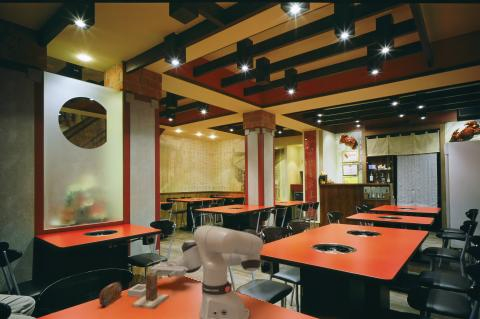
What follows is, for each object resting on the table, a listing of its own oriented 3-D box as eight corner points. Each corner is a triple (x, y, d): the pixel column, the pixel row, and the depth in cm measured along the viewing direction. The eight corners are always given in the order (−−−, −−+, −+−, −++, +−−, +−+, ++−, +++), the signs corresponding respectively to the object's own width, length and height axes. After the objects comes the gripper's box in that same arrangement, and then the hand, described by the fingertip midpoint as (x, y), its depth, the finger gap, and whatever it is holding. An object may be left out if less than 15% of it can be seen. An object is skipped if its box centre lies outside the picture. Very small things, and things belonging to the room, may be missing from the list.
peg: (157, 298, 144) (157, 273, 145) (152, 301, 140) (153, 276, 141) (150, 297, 145) (150, 273, 146) (145, 300, 141) (146, 275, 142)
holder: (152, 291, 156) (152, 285, 156) (142, 297, 148) (142, 291, 148) (137, 289, 159) (137, 284, 159) (127, 295, 150) (127, 290, 150)
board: (169, 297, 147) (169, 294, 148) (154, 309, 134) (154, 306, 134) (148, 295, 151) (148, 292, 151) (132, 306, 137) (132, 303, 137)
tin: (103, 308, 135) (103, 290, 136) (97, 308, 136) (98, 290, 136) (122, 296, 150) (122, 279, 150) (117, 295, 150) (117, 279, 151)
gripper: (190, 274, 163) (178, 282, 149) (158, 272, 168) (144, 280, 155) (190, 263, 163) (178, 270, 150) (158, 261, 168) (144, 268, 155)
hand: (161, 275), depth 152 cm, fingers open, 8 cm apart
